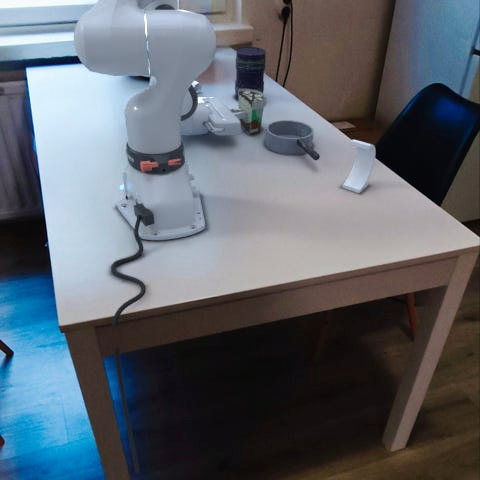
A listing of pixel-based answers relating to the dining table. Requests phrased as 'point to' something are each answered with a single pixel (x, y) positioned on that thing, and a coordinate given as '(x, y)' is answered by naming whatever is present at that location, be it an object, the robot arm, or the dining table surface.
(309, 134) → the saucepan
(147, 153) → the robot arm
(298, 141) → the saucepan handle
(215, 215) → the dining table surface
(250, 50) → the storage jar
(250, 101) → the food container
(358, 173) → the headphone stand
